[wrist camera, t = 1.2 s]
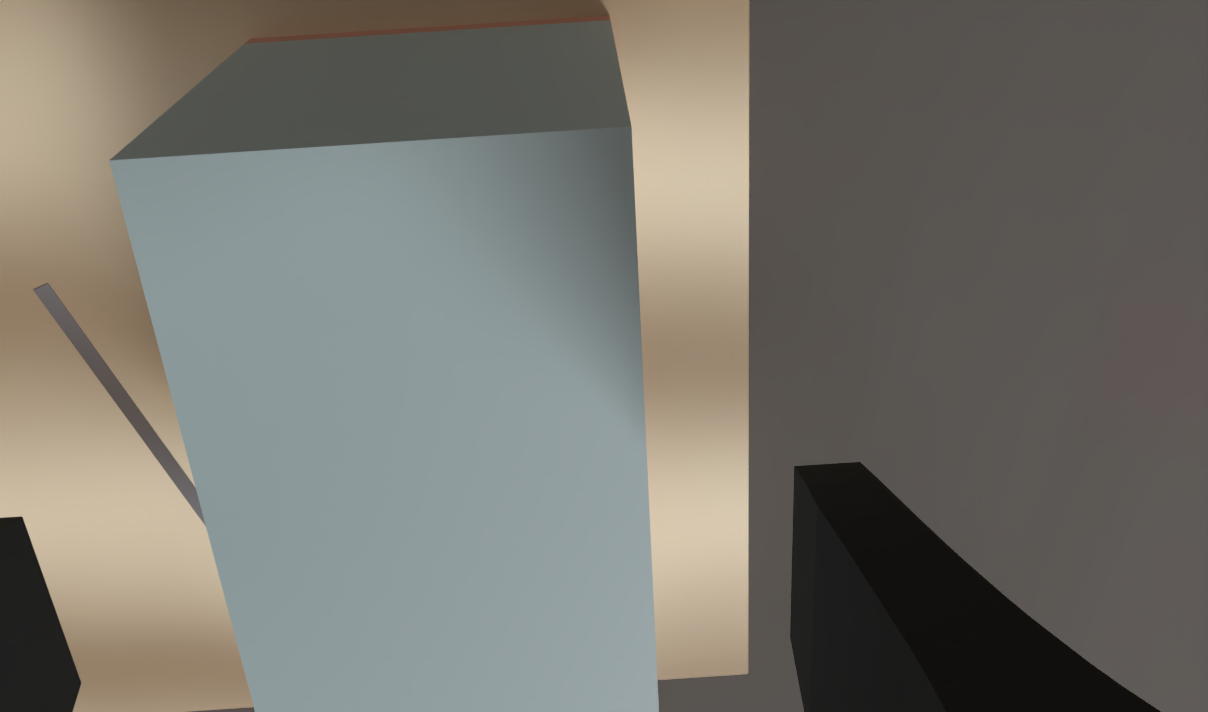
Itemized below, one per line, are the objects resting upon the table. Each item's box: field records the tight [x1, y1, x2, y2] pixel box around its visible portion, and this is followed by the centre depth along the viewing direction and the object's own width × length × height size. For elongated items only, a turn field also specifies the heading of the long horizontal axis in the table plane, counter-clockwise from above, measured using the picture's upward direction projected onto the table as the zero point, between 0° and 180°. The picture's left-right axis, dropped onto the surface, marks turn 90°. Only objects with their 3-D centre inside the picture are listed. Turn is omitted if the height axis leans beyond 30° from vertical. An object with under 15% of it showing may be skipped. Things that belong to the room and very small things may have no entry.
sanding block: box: [109, 15, 659, 712], centre depth 14 cm, size 8×4×5 cm, turn 3°
